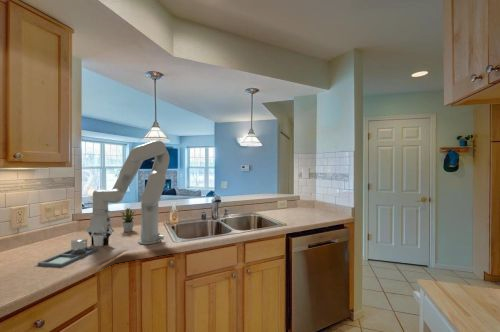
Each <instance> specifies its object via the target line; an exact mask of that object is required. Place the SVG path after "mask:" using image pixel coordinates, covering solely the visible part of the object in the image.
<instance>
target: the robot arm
mask: <svg viewBox="0 0 500 332" xmlns="http://www.w3.org/2000/svg"><path fill="white" fill-rule="evenodd" d="M152 158H154V160H153V161H154V162H153V164H152V168H151V169H150V172H149V175H148V177H147V181H146V184H145V187H144V190H143V191H142V193H141V196H140V198H141V200H140V203H141V205H140V208H141V209H140V212H141V214H140V216H141V217H140V238H139V239H138V240H137V243H138V244H140V245H154V244H158V243H159V242H161V240H162V241H163V240H164V238H165V236H164V235H163V234H162V235H160V234H161V233H160V232H159V202H160V200H161V197H162V194H163V192H164V191H163V190H164V188H165V187H166V186H165V185H166V182H167V181H166V180H167V179H166V174H167V172H168V168H169V164H170V154H169V152H168V149H167V148H166V143H164V141H161V140H157V139H156V140H153V141H150V142H147V143H144V144H141V145H138V146H135V147H133V148H131V149H130V150H129V153H128V155H127V158H126V159H125V161H124V163H123V165H122V167H121V169H120V170H119V175H118V176H117V180H116V182H115V183H114V185H113V187H112V188H111V190H107V189H95V190H93V192H92V214H91V216H90V222H89V227H88V228H87V229H86V232H87V233H88V235H89V236H90V237H89V238H91V240H90V242H91V245H92V246H94V241H93V234H96V233H103V235H104V237H105V238H104V240H103V245H102V246H107V245H109V239H110V237H111V235H112V234H113V233H114V232H115V230H114V229H113V228H112V219H111V215H110V212H111V210H109V204H118V203H120V202H122V200H123V199H124V197H125V194H126V193H127V191H128V189H129V187H130V185H131V183H132V182H133V180H135V177H136V176H137V174H138V172H139V170H140V168H141V167H142V164H143V162H144V161H147V160H149V159H152ZM106 234H107V235H106Z"/></svg>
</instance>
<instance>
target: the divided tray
mask: <svg viewBox="0 0 500 332" xmlns="http://www.w3.org/2000/svg"><path fill="white" fill-rule="evenodd" d="M100 251H101V249H99V248H98V247H89V246H87V252H86V253H84V254H81V255H74V254H71V249H69V250H67V251H64V252H62V253H59V254H56V255H54V256H50V257H49V258H46V259H44V260H41V261H38V262H37V264H35V265H34V267H38V268H51V269H64V268H65V267H68V266H69V265H70V266H71V264H73V263H76V262H78V261H81V260H84V259H85V258H86V257H90V256H91V255H93V254H95V253H97V252H100Z"/></svg>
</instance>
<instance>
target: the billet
mask: <svg viewBox="0 0 500 332" xmlns="http://www.w3.org/2000/svg"><path fill="white" fill-rule="evenodd" d="M87 247H88V238H75V239H72V240H71V242H70V250H71V254H74V255H81V254H84V253H86V252H87Z"/></svg>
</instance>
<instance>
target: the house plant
mask: <svg viewBox="0 0 500 332" xmlns="http://www.w3.org/2000/svg"><path fill="white" fill-rule="evenodd" d="M117 210H119V209H117ZM120 212H121V214H122V215H119V217H118V219H120V218H121V219H122V229H123V232H125V233H127V232H132V231H133V228H134V222H135V221H134V219H135V216H136V215H137V214H135V211H133V209H132V208H131V207H129V208H128V207H126V209H125V213H124V211H123V210H122V209H120ZM134 214H135V215H134ZM137 216H138V215H137Z"/></svg>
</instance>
